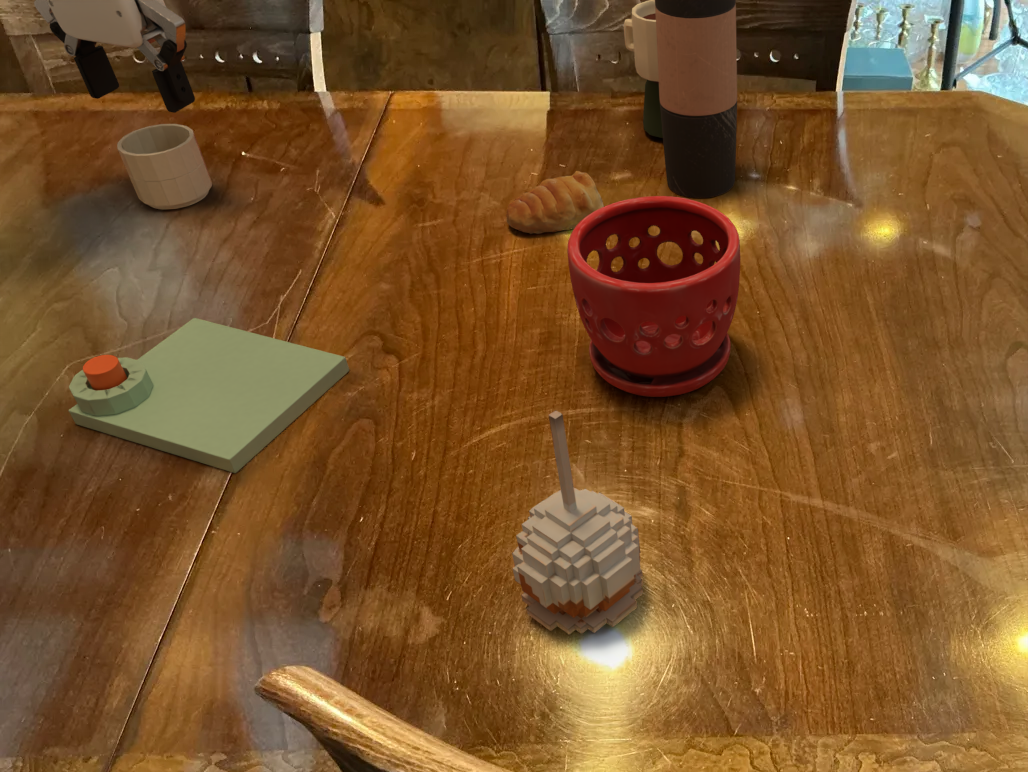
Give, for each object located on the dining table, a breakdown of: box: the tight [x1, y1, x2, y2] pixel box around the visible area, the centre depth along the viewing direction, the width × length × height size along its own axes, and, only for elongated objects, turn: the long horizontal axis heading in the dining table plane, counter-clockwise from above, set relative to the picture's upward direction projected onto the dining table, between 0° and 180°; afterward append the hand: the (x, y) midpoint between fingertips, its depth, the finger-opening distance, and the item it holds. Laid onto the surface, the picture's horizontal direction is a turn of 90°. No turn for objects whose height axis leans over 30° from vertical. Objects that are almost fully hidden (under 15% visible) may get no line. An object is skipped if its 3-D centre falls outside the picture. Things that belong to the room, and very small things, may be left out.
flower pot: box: [566, 195, 741, 398], centre depth 85 cm, size 13×13×12 cm
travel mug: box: [655, 0, 738, 199], centre depth 105 cm, size 8×8×20 cm
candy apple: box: [511, 409, 644, 635], centre depth 66 cm, size 8×8×15 cm
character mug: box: [623, 0, 663, 139], centre depth 116 cm, size 11×7×13 cm, turn 58°
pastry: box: [505, 170, 604, 235], centre depth 106 cm, size 9×7×4 cm
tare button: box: [82, 354, 127, 391], centre depth 84 cm, size 3×3×2 cm
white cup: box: [116, 123, 213, 210], centre depth 110 cm, size 7×7×6 cm
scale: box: [68, 317, 350, 474], centre depth 86 cm, size 17×14×3 cm
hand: (143, 99), depth 105 cm, fingers open, 9 cm apart
